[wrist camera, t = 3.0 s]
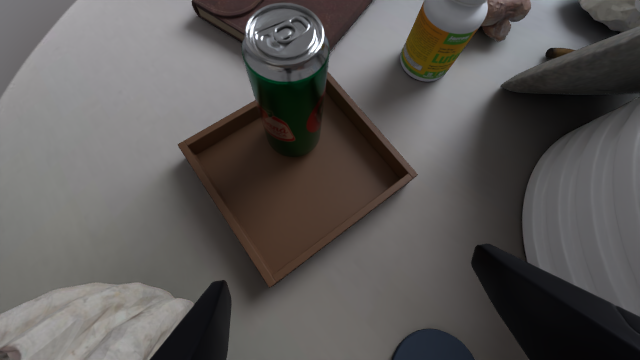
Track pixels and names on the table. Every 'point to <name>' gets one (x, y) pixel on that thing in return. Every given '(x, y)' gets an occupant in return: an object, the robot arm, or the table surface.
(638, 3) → the white cylinder bundle
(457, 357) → the coaster
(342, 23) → the notebook
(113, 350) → the seashell
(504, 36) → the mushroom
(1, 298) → the table surface
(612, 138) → the plate stack
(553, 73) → the stone
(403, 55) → the supplement bottle
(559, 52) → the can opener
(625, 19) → the stone
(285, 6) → the soda can
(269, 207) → the tray
